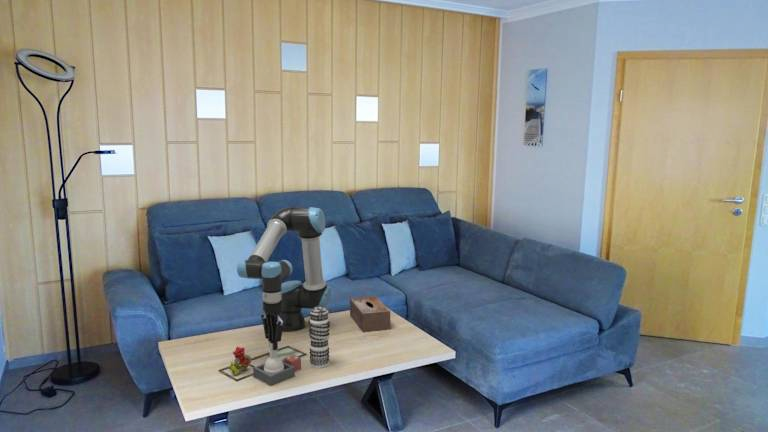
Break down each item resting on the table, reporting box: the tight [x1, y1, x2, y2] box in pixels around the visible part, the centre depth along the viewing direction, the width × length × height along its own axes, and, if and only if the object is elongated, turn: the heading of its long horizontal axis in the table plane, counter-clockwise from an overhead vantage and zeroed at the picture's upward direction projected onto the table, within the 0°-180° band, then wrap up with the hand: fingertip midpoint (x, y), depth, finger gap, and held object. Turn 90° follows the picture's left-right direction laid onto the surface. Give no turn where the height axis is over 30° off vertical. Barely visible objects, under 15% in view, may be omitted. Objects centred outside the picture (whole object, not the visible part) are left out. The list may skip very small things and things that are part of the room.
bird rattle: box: [228, 346, 252, 375], centre depth 230 cm, size 6×11×9 cm
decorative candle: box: [307, 306, 331, 369], centre depth 237 cm, size 9×9×25 cm
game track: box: [218, 345, 308, 382], centre depth 239 cm, size 14×36×1 cm, turn 137°
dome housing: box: [252, 355, 302, 387], centre depth 228 cm, size 12×18×6 cm, turn 137°
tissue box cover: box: [349, 295, 391, 333], centre depth 289 cm, size 26×14×10 cm, turn 18°
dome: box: [264, 356, 284, 375], centre depth 226 cm, size 8×8×8 cm
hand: (273, 356), depth 225 cm, fingers closed
